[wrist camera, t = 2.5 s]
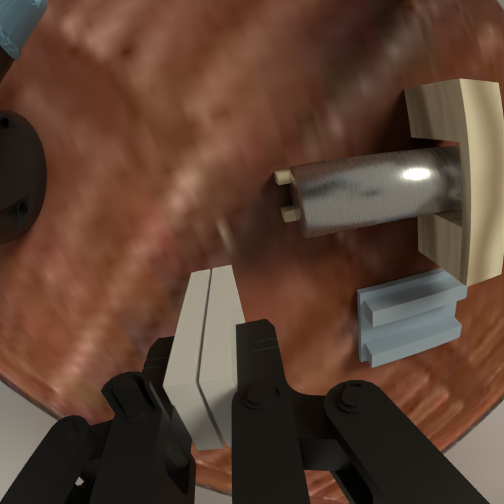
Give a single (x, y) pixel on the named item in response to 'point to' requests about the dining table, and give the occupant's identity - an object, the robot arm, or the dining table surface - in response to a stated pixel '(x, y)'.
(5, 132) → the robot arm
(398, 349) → the v block
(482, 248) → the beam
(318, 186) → the axle
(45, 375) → the dining table surface
